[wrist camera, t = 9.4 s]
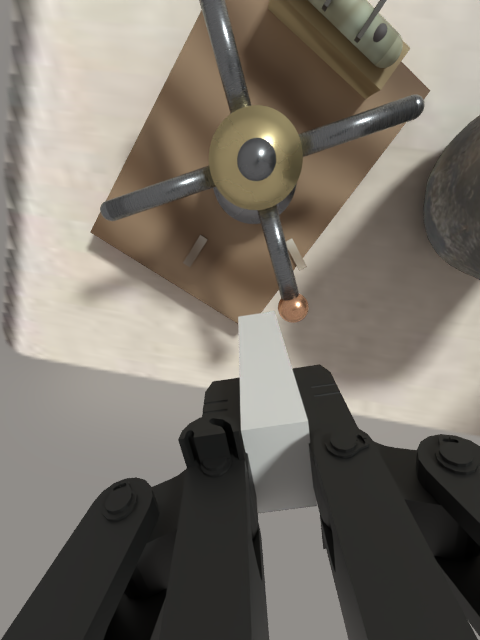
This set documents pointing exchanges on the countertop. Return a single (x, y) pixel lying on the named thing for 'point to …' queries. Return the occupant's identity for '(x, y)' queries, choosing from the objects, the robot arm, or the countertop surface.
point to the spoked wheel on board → (289, 99)
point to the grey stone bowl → (456, 202)
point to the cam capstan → (258, 158)
